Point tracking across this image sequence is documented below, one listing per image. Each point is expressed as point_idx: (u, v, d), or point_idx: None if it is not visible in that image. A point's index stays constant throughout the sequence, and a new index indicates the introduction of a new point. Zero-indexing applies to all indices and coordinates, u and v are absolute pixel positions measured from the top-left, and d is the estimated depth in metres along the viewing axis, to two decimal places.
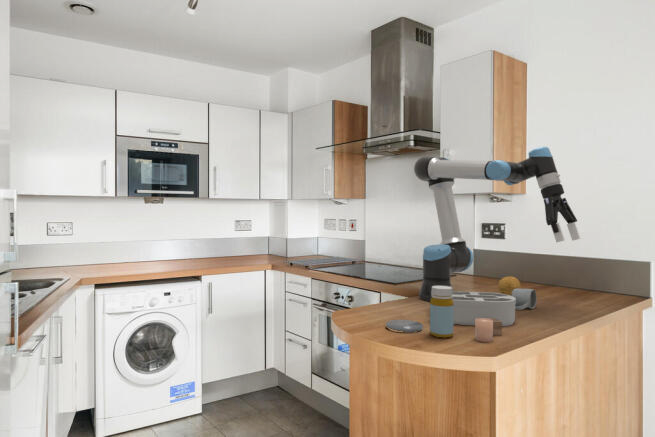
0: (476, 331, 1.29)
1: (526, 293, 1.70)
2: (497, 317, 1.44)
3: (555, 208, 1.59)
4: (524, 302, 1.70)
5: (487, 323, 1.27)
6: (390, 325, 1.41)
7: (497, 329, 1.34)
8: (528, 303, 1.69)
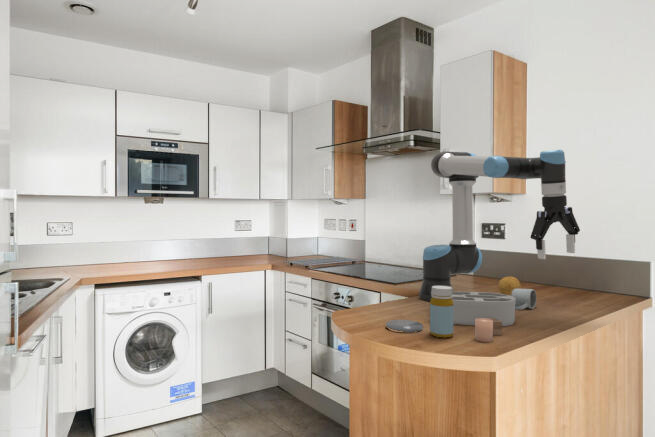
0: (476, 331, 1.29)
1: (525, 293, 1.70)
2: (497, 317, 1.44)
3: (547, 223, 1.48)
4: (524, 302, 1.70)
5: (487, 323, 1.27)
6: (390, 325, 1.41)
7: (497, 329, 1.34)
8: (528, 303, 1.69)
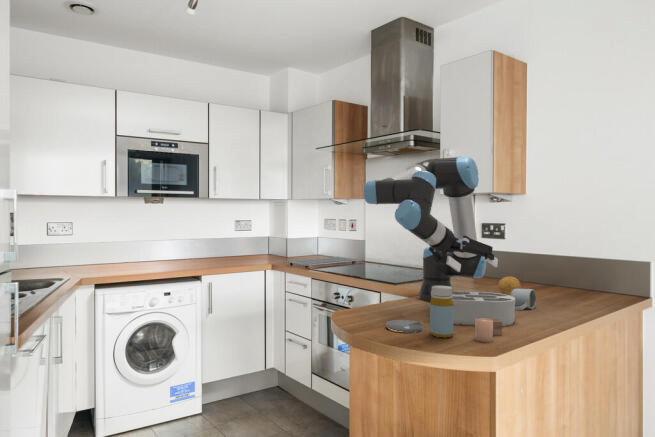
0: (476, 331, 1.29)
1: (525, 293, 1.70)
2: (497, 317, 1.45)
3: None
4: (523, 302, 1.69)
5: (487, 323, 1.27)
6: (390, 325, 1.41)
7: (497, 329, 1.34)
8: (527, 303, 1.68)
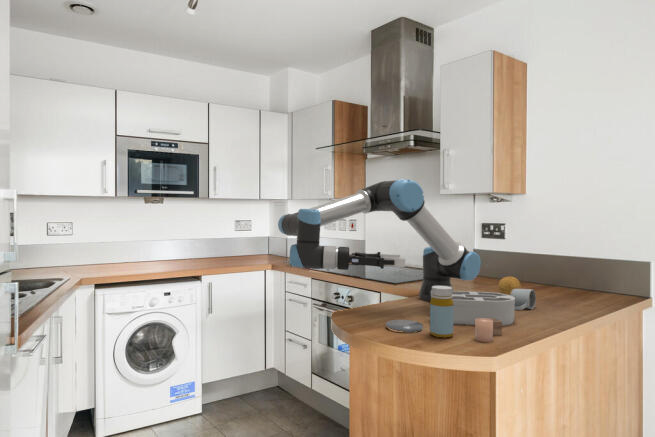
0: (476, 331, 1.29)
1: (525, 294, 1.69)
2: (497, 317, 1.45)
3: None
4: (523, 302, 1.69)
5: (487, 323, 1.27)
6: (390, 325, 1.41)
7: (497, 329, 1.34)
8: (527, 303, 1.68)
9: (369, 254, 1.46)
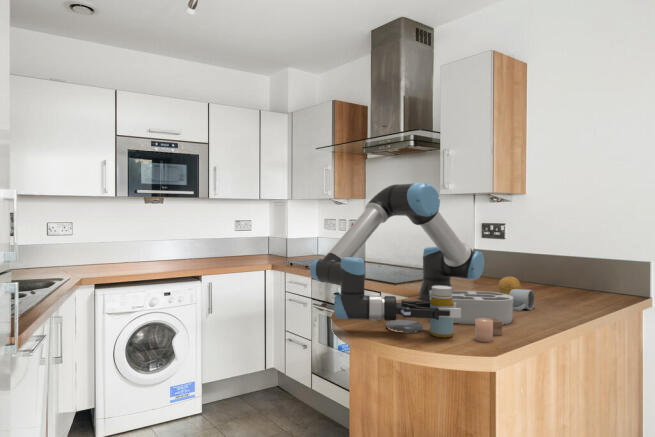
0: (476, 331, 1.29)
1: (523, 294, 1.69)
2: (496, 316, 1.46)
3: None
4: (522, 303, 1.68)
5: (487, 323, 1.27)
6: (390, 325, 1.41)
7: (497, 329, 1.34)
8: (526, 304, 1.67)
9: (420, 302, 1.38)
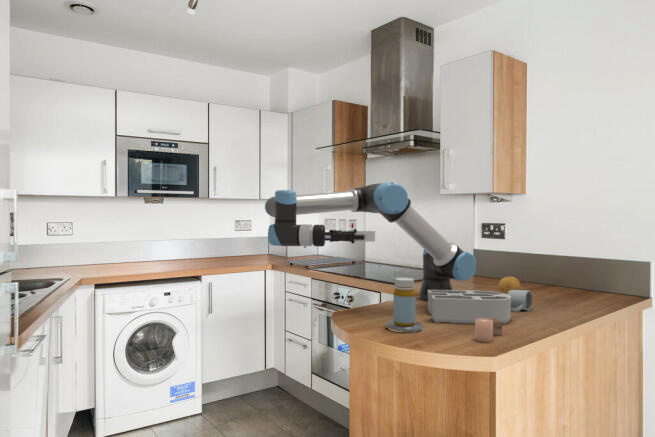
0: (476, 331, 1.29)
1: (521, 295, 1.67)
2: (494, 315, 1.47)
3: None
4: (519, 304, 1.67)
5: (487, 323, 1.27)
6: (390, 325, 1.41)
7: (497, 329, 1.34)
8: (523, 305, 1.66)
9: (345, 231, 1.53)
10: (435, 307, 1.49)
